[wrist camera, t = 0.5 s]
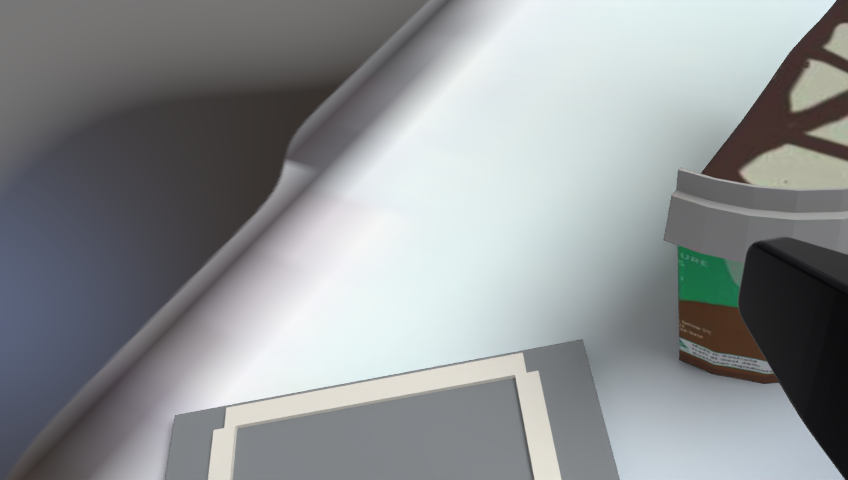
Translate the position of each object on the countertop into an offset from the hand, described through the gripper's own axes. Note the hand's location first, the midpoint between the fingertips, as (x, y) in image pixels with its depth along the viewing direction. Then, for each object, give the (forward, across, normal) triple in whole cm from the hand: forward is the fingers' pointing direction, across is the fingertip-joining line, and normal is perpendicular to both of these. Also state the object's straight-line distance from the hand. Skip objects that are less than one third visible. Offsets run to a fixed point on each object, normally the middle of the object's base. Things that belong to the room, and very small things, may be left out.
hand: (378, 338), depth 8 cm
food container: (+11, -16, +10) cm, 22 cm away
